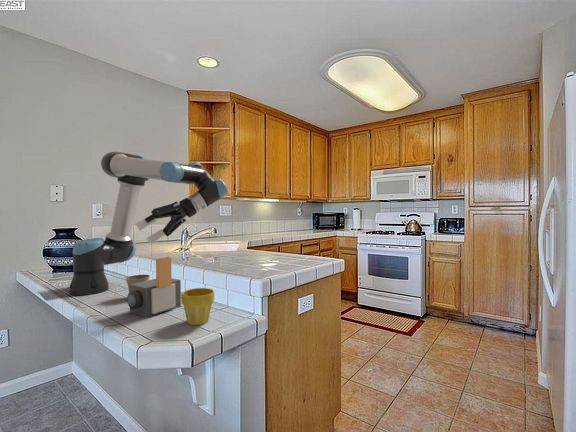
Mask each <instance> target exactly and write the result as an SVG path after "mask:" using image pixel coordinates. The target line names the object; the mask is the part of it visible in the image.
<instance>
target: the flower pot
mask: <svg viewBox="0 0 576 432" xmlns="http://www.w3.org/2000/svg"><path fill="white" fill-rule="evenodd" d="M150 277H151V275H150V274H135V275H134V274H133V275H128V276H126V277H125V279H124V280H126V283H127V289H128V290H129V284H134V283H138V282H143V281H147V280H150Z"/></svg>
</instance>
